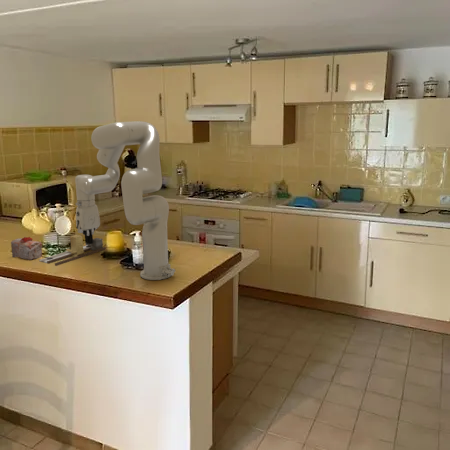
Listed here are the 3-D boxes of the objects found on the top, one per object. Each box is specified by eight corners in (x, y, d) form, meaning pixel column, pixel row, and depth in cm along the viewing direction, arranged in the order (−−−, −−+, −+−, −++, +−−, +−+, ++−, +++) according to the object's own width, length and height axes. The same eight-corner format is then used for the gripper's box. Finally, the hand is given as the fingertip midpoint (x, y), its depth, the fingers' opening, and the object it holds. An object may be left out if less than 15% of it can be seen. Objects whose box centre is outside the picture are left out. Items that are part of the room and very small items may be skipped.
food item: (46, 258, 203) (43, 237, 200) (31, 263, 196) (28, 241, 193) (24, 254, 209) (22, 233, 206) (9, 259, 202) (6, 237, 199)
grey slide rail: (108, 251, 213) (107, 238, 211) (53, 269, 188) (52, 255, 187) (90, 247, 219) (89, 234, 217) (35, 264, 194) (33, 250, 193)
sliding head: (83, 255, 202) (82, 235, 200) (77, 257, 199) (75, 237, 197) (70, 252, 207) (68, 232, 205) (64, 254, 204) (62, 234, 202)
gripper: (78, 207, 194) (81, 248, 198) (105, 201, 206) (107, 240, 210) (66, 205, 198) (70, 246, 202) (93, 199, 210) (96, 238, 214)
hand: (89, 243), depth 206 cm, fingers closed
